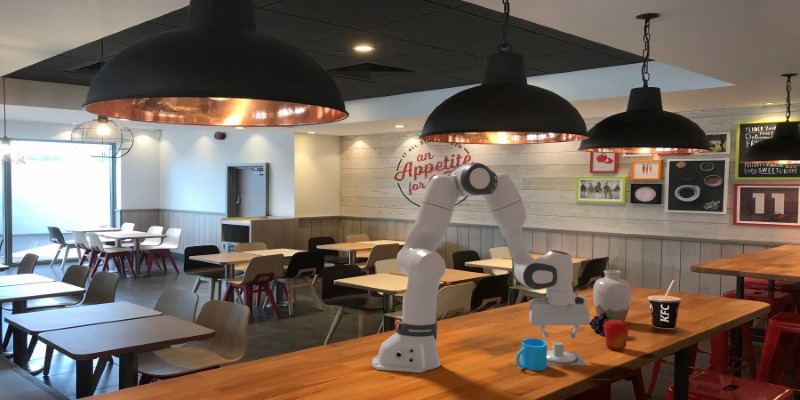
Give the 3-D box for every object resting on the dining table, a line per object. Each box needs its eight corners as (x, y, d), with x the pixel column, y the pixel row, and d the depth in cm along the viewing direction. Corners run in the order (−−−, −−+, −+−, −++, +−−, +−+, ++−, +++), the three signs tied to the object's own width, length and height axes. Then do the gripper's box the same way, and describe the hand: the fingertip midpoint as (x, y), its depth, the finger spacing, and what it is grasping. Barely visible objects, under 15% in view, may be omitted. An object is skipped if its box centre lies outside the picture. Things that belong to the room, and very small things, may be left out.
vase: (632, 321, 272) (634, 270, 271) (628, 328, 258) (629, 274, 257) (595, 317, 279) (597, 267, 279) (589, 324, 265) (590, 271, 265)
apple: (633, 350, 224) (633, 318, 223) (616, 353, 220) (617, 320, 219) (614, 345, 231) (615, 313, 231) (598, 347, 227) (599, 315, 227)
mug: (533, 360, 206) (534, 336, 205) (551, 368, 200) (552, 343, 199) (507, 367, 200) (507, 343, 199) (525, 376, 193) (526, 351, 192)
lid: (544, 362, 205) (544, 348, 205) (536, 352, 217) (536, 338, 217) (580, 363, 205) (580, 348, 205) (570, 353, 217) (570, 339, 217)
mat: (539, 366, 203) (539, 364, 203) (529, 352, 219) (529, 351, 219) (588, 367, 203) (588, 365, 203) (574, 353, 219) (574, 351, 219)
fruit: (597, 337, 255) (631, 335, 244) (583, 337, 248) (616, 334, 237) (594, 312, 258) (627, 309, 247) (580, 311, 251) (613, 308, 240)
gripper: (531, 299, 207) (530, 340, 208) (591, 299, 207) (591, 340, 208) (527, 296, 213) (527, 335, 214) (586, 295, 213) (585, 335, 214)
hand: (559, 337), depth 211 cm, fingers open, 8 cm apart
